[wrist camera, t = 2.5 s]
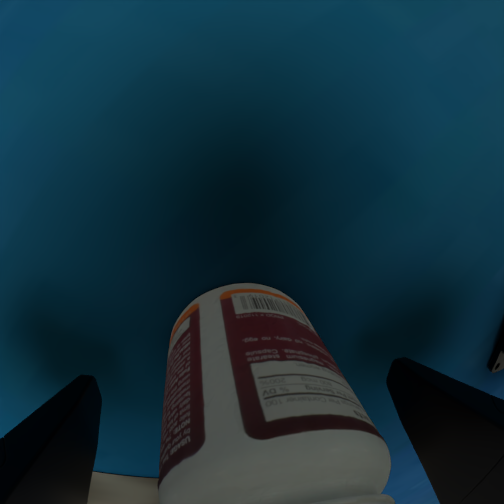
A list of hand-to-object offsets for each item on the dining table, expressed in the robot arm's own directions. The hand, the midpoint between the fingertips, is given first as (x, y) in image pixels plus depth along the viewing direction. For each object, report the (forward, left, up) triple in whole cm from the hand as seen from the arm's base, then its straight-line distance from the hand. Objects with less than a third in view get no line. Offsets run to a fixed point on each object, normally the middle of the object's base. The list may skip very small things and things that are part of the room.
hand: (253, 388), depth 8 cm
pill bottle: (0, 0, -2) cm, 2 cm away
